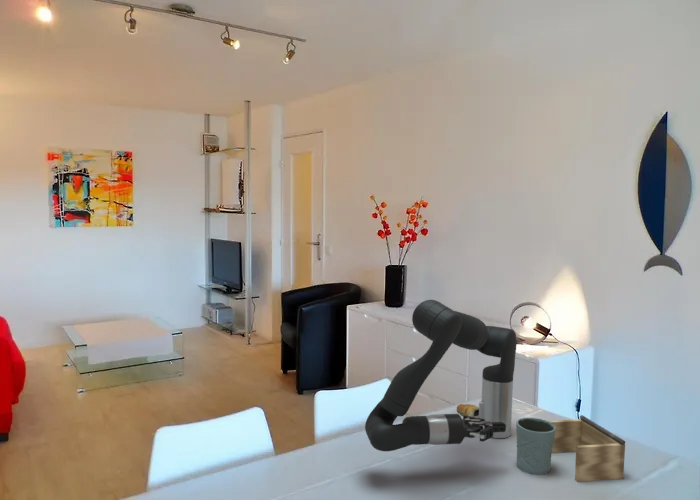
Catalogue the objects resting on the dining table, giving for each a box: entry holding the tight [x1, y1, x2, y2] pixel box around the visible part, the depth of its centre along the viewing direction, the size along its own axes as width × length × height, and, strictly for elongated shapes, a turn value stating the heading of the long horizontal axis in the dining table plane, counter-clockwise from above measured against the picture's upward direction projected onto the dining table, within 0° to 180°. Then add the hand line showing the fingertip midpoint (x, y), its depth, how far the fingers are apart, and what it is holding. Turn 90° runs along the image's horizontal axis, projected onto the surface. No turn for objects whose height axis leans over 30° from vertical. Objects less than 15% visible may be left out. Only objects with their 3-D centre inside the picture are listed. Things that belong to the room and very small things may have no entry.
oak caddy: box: [547, 414, 626, 483], centre depth 155 cm, size 13×18×10 cm
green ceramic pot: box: [515, 417, 556, 475], centre depth 152 cm, size 10×10×12 cm
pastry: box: [456, 403, 479, 418], centre depth 193 cm, size 9×7×4 cm
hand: (504, 426), depth 150 cm, fingers closed
